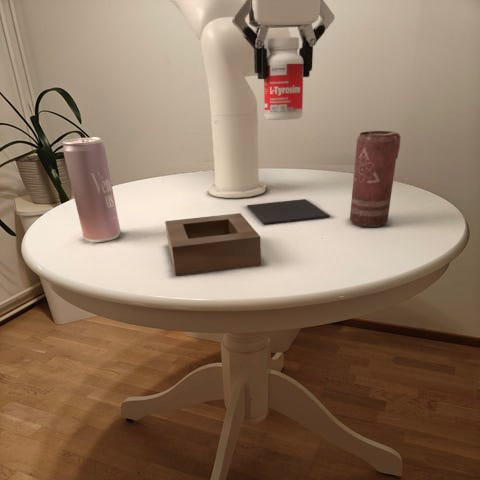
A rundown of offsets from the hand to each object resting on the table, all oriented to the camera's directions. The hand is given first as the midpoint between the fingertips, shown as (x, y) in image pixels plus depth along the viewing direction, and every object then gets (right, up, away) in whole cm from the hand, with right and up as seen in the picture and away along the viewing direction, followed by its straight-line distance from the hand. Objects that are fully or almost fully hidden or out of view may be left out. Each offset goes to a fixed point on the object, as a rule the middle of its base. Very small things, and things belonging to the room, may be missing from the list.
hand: (283, 76), depth 66 cm
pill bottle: (0, -6, +3) cm, 6 cm away
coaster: (+2, -18, +12) cm, 22 cm away
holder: (-11, -29, -5) cm, 31 cm away
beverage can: (-30, -25, +4) cm, 39 cm away
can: (+15, -22, +5) cm, 27 cm away
